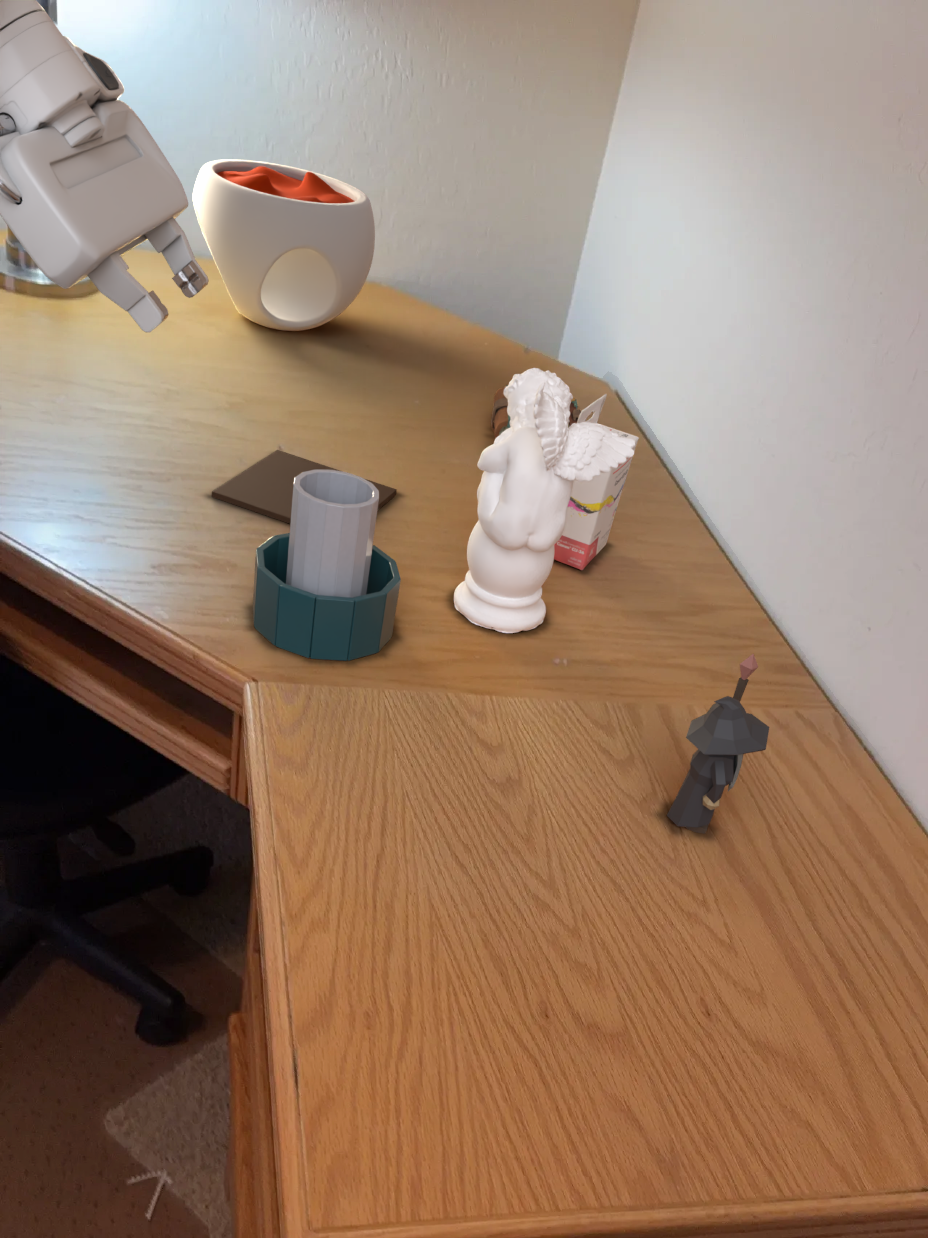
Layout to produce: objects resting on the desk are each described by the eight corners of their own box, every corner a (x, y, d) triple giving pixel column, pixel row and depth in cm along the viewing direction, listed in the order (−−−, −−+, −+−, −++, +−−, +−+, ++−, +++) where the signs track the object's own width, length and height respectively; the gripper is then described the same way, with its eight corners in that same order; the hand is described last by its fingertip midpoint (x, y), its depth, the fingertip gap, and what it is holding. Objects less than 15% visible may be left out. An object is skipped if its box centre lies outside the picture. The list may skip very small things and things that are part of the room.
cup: (269, 626, 88) (279, 487, 80) (304, 595, 93) (316, 461, 85) (342, 652, 87) (358, 514, 79) (373, 619, 92) (391, 487, 84)
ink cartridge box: (584, 572, 107) (625, 427, 98) (539, 556, 108) (575, 410, 98) (609, 544, 114) (649, 405, 104) (566, 528, 114) (603, 389, 105)
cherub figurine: (467, 572, 102) (516, 331, 88) (590, 608, 102) (659, 371, 87) (435, 628, 93) (483, 369, 79) (570, 668, 93) (643, 415, 78)
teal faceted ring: (227, 629, 86) (230, 568, 83) (291, 575, 95) (296, 517, 92) (357, 676, 85) (365, 615, 82) (410, 616, 94) (419, 560, 90)
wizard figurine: (733, 851, 78) (796, 716, 70) (661, 842, 77) (716, 705, 69) (709, 781, 84) (764, 651, 76) (642, 773, 83) (691, 640, 75)
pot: (394, 331, 154) (412, 191, 143) (306, 364, 137) (318, 207, 125) (255, 282, 159) (261, 143, 147) (152, 307, 142) (151, 151, 130)
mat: (211, 497, 104) (211, 491, 103) (276, 454, 114) (277, 449, 114) (341, 541, 102) (342, 535, 102) (396, 494, 112) (397, 489, 112)
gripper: (-12, 90, 59) (165, 319, 66) (118, 61, 74) (249, 249, 81) (-80, 164, 61) (96, 377, 68) (58, 121, 77) (191, 298, 84)
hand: (180, 307), depth 75 cm, fingers open, 8 cm apart
